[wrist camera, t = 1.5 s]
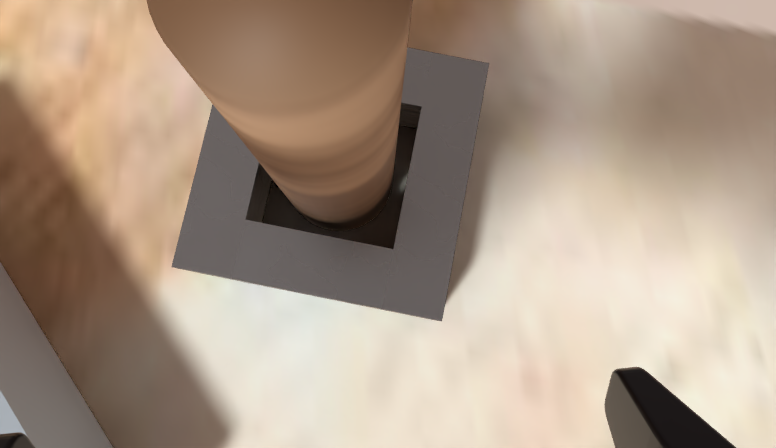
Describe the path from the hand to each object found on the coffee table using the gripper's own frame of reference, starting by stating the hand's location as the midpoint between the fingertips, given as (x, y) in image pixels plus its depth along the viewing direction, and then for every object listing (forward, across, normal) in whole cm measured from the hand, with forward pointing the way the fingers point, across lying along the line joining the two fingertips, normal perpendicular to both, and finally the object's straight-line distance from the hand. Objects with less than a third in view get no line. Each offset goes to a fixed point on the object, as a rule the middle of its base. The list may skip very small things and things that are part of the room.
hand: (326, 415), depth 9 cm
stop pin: (+14, 0, +4) cm, 14 cm away
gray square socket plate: (+14, 0, +4) cm, 14 cm away
